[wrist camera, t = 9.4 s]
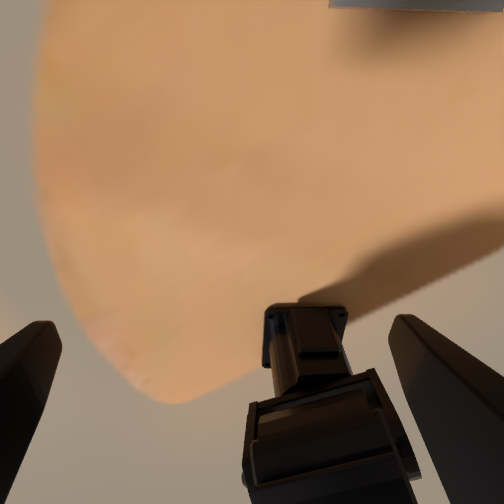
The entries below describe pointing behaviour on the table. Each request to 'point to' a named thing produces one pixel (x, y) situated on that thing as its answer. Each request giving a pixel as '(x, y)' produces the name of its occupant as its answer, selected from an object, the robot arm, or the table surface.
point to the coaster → (423, 5)
